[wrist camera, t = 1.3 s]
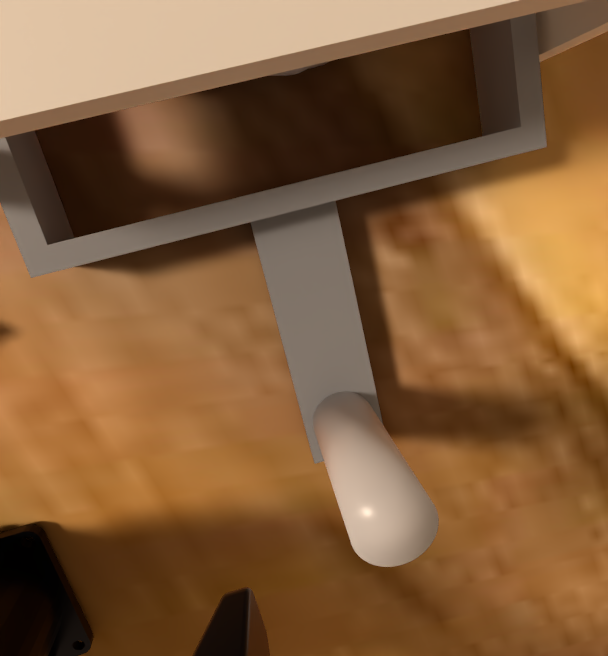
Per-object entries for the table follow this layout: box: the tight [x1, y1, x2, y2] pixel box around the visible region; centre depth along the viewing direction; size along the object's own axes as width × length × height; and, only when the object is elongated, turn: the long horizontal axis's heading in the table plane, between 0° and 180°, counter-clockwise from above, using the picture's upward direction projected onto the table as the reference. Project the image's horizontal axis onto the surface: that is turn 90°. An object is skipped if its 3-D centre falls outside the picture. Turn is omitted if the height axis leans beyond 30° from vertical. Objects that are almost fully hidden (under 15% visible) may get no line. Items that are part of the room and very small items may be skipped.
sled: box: [0, 13, 547, 567], centre depth 13 cm, size 26×17×7 cm, turn 13°
